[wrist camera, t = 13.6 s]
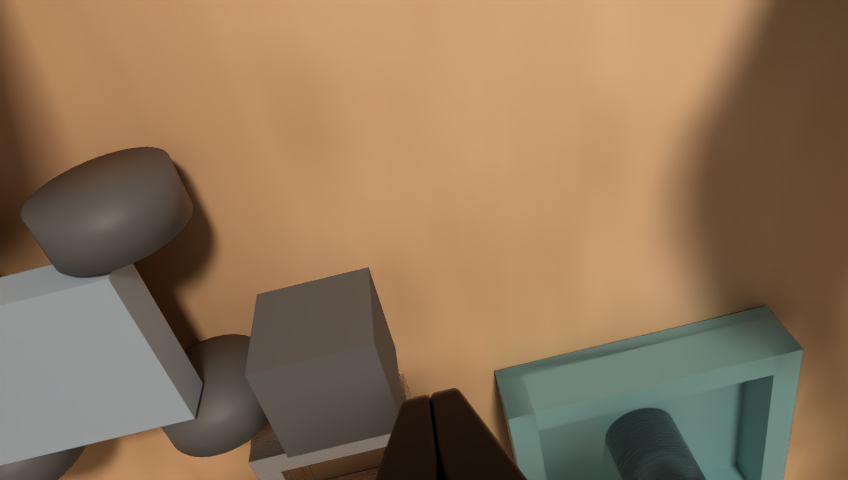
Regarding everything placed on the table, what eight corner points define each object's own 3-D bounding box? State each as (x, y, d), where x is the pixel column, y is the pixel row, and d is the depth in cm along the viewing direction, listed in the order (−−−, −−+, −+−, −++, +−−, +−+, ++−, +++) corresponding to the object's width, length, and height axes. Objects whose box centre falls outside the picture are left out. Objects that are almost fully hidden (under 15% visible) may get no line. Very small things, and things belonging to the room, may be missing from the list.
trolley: (182, 134, 20) (105, 306, 13) (284, 354, 25) (266, 558, 18) (-172, 223, 20) (-425, 436, 13) (1, 423, 25) (-118, 648, 18)
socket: (403, 374, 26) (409, 423, 24) (434, 467, 29) (442, 518, 27) (255, 409, 26) (248, 462, 24) (302, 498, 30) (300, 551, 27)
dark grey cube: (368, 266, 23) (374, 344, 20) (395, 348, 25) (404, 430, 22) (257, 292, 23) (244, 375, 20) (293, 372, 25) (288, 457, 22)
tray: (766, 305, 26) (803, 349, 24) (749, 461, 32) (778, 508, 30) (494, 371, 26) (508, 419, 24) (525, 514, 32) (539, 563, 30)
